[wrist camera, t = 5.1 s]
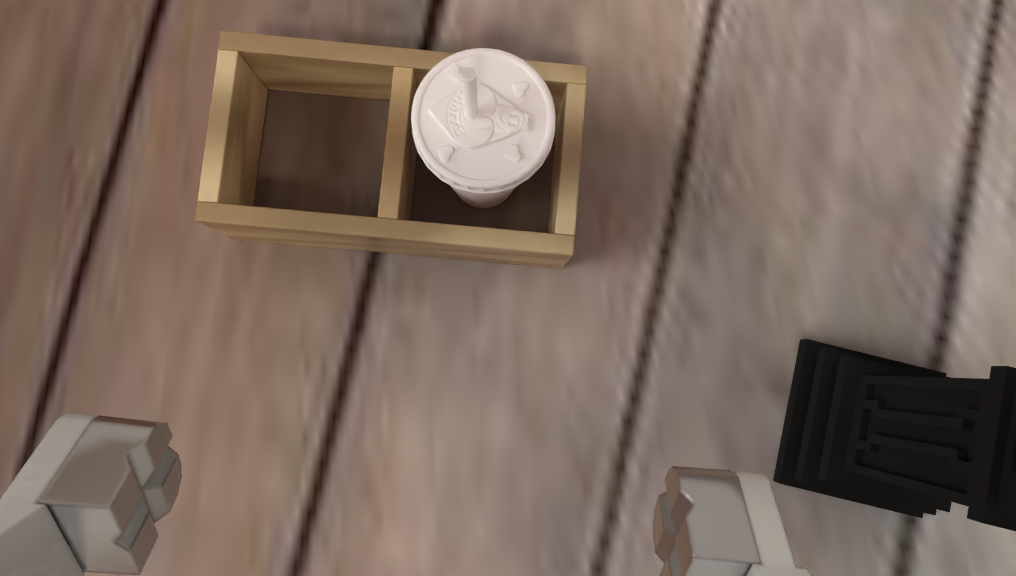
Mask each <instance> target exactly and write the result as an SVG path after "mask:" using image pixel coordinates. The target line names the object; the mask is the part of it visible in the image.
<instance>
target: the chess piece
mask: <svg viewBox="0 0 1016 576" xmlns="http://www.w3.org/2000/svg"><path fill="white" fill-rule="evenodd" d="M946 374H947V373H943V372H939V371H935V370H931V369H926V368H922V367H918V366H914V365H910V364H906V363H902V362H898V361H894V360H890V359H886V358H882V357H877V356H873V355H869V354H865V353H861V352H857V351H853V350H849V349H845V348H841V347H837V346H833V345H829V344H824V343H820V342H816V341H812V340H808V339H803V340H800V344H799V349H798V355H797V360H796V365H795V370H794V375H793V380H792V386H791V391H790V396H789V401H788V406H787V412H786V417H785V422H784V427H783V432H782V437H781V443H780V448H779V453H778V458H777V463H776V469H775V474H774V479H773V481H775V482H777V483H780V484H784V485H788V486H792V487H796V488H801V489H805V490H809V491H813V492H817V493H821V494H825V495H829V496H833V497H838V498H842V499H846V500H850V501H854V502H858V503H862V504H866V505H870V506H875V507H879V508H883V509H887V510H891V511H895V512H899V513H903V514H907V515H912V516H916V517H920V518H922V517H923V512H924V513H928V514H932V515H936V509H938V510H942V511H946V512H950V507H951V501H952V502H955V503H959V504H962V505H966V506H969V509H968V515H967V518H968V519H971V520H975V521H978V522H981V523H984V524H988V525H993V526H997V527H1001V528H1005V529H1009V530H1013V531H1016V368H1013V367H1009V366H991V372H990V378H989V379H972V378H950V377H946Z"/></svg>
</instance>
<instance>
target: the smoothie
mask: <svg viewBox="0 0 1016 576" xmlns="http://www.w3.org/2000/svg"><path fill="white" fill-rule="evenodd" d="M411 124H412V134H413V138H414V141H415V145H416V148H417V151H418V153H419V155H420V156H421V158H422V160H423V161H424V163H425V165H426V166H427V167H428V168H429V169H430V170H431V171H432V172H433V173H434V174H435V175H436V176H437V177H438V178H439V179H440V180H442V181H443V182H445V183H447V184H449V185H450V186H451V187H452V189H453V190H454V191H455V193H456V194H457V195H458V196H459V197H460V199H462V200H463V201H464V202H465V203H467V204H469V205H471V206H474V207H478V208H490V207H494V206H496V205H499V204H500V203H502V202H503V201H505V200H506V199H507V198H508V197H509V195H510V194H511V193H512V191H513V190H514V189H515V188H516V186H518V185H519V184H521V183H523V182H524V181H526V180H528V179H529V178H530V177H531V176H532V175H533V174H534V173H535V172H536V171H537V170H538V169H539V168H540V167H541V166H542V165H543V163H544V161H545V159H546V157H547V156H548V154H549V152H550V150H551V147H552V143H553V139H554V134H555V107H554V103H553V99H552V96H551V93H550V91H549V89H548V87H547V85H546V83H545V82H544V80H543V79H542V77H541V76H540V75H539V73H538V72H537V71H536V70H535V69H534V68H533V67H532V66H530V65H529V64H528V63H527V62H525V61H524V60H522V59H520V58H519V57H517V56H515V55H513V54H510V53H508V52H505V51H501V50H496V49H489V48H476V49H469V50H464V51H461V52H458V53H455V54H453V55H451V56H449V57H447V58H445V59H443V60H442V61H440V62H439V63H438V64H437V65H435V66H434V67H433V68H432V69H431V70H430V71H429V72H428V73H427V75H426V76H425V77H424V78H423V80H422V82H421V83H420V85H419V87H418V89H417V91H416V94H415V96H414V100H413V104H412V111H411Z"/></svg>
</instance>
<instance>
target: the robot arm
mask: <svg viewBox="0 0 1016 576" xmlns="http://www.w3.org/2000/svg"><path fill="white" fill-rule="evenodd" d="M171 438H172V434H171V431H170V429H169V426H168V424H167V423H162V422H153V421H144V420H135V419H126V418H116V417H107V416H99V415H89V414H78V413H66V414H64V415H63V416H62V417H60V418H59V419H57V420H56V421H55V423H54V424H53V425H52V427H51V428H50V430H49V431H48V432H47V434H46V435H45V437H44V438H43V439H42V441H41V442H40V444H39V445H38V447H37V448H36V449H35V451H34V452H33V454H32V455H31V456H30V458H29V459H28V461H27V462H26V463H25V465H24V466H23V468H22V469H21V470H20V472H19V473H18V475H17V476H16V478H15V479H14V480H13V482H12V483H11V485H10V486H9V487H8V489H7V490H6V492H5V493H4V494H3V496H2V497H1V499H0V576H84V572H95V573H114V574H132V575H140V573H141V571H142V569H143V567H144V565H145V563H146V561H147V559H148V557H149V555H150V553H151V550H152V548H153V546H154V544H155V542H156V540H157V538H158V533H157V530H156V526H155V522H156V521H158V520H159V519H160V518H162V517H163V516H164V515H166V514H167V513H168V512H170V511H171V508H172V506H173V504H174V502H175V500H176V497H177V495H178V491H179V487H180V482H181V478H182V471H181V461H180V458H179V455H178V454H177V453H176V452H175V451H174V450H172V449H171V448H170V447H169V446H168V444H169V442H170V440H171ZM665 482H666V489H667V491H666V492H664V493H663V494H661V495H659V497H658V500H657V503H656V506H655V510H654V519H653V539H654V547H655V553H656V554H657V555H658V556H659V557H660V559H661V560H662V561H663V562H664V563H665V564H664V567H663V569H662V571H661V574H660V576H812V575H811V574H810V572H809V571H808V570H807V569H804V568H797V567H796V564H795V561H794V557H793V554H792V551H791V548H790V545H789V541H788V538H787V535H786V532H785V529H784V525H783V522H782V519H781V516H780V512H779V509H778V506H777V503H776V500H775V496H774V493H773V490H772V487H771V484H770V480H769V479H768V478H767V477H766V475H765V474H759V473H746V472H732V471H731V470H718V469H704V468H690V467H677V466H673V467H672V468H670V469H669V471H668V473H667V476H666V478H665Z"/></svg>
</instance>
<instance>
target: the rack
mask: <svg viewBox="0 0 1016 576" xmlns="http://www.w3.org/2000/svg"><path fill="white" fill-rule="evenodd" d="M453 54H455V53H449V52H438V51H428V50H418V49H408V48H397V47H387V46H377V45H366V44H356V43H346V42H336V41H325V40H315V39H305V38H294V37H284V36H274V35H264V34H253V33H243V32H233V31H223V30H222V31H221V35H220V42H219V50H218V57H217V64H216V71H215V79H214V86H213V93H212V100H211V107H210V115H209V122H208V129H207V136H206V144H205V151H204V158H203V165H202V173H201V180H200V187H199V194H198V201H199V202H198V203H197V210H196V217H195V220H196V221H197V222H199V223H201V224H203V225H205V226H207V227H209V228H211V229H213V230H215V231H217V232H219V233H221V234H223V235H225V236H227V237H229V238H231V239H239V240H250V241H261V242H272V243H283V244H294V245H305V246H316V247H327V248H338V249H350V250H361V251H372V252H383V253H394V254H405V255H416V256H427V257H438V258H449V259H461V260H472V261H483V262H494V263H505V264H516V265H527V266H538V267H549V268H560V269H561V268H563V266H564V265H565V264H566V263H567V262H568V260H569V259H570V258H571V257H572V255H573V254H574V242H575V236H574V235H575V229H576V216H577V203H578V190H579V177H580V164H581V151H582V137H583V124H584V111H585V98H586V84H587V72H588V66H582V65H572V64H562V63H551V62H541V61H531V60H524V61H525V62H527V63H528V64H529V65H530V66H532V67H533V68H534V69H535V70H536V71H537V72H538V73H539V75H540V76H541V77H542V79H543V80H544V82H545V83H546V85H547V87H548V89H549V91H550V93H551V96H552V99H553V103H554V107H555V117H557V123H556V136H555V148H554V161H553V173H552V185H551V198H550V210H549V222H548V233H541V232H530V231H519V230H508V229H497V228H486V227H475V226H464V225H453V224H442V223H431V222H420V221H410V216H411V206H412V196H413V187H414V177H415V167H416V158H417V148H416V145H415V141H414V138H413V134H412V124H411V111H412V104H413V100H414V96H415V94H416V91H417V89H418V87H419V85H420V83H421V82H422V80H423V78H424V77H425V76H426V75H427V73H428V72H429V71H430V70H431V69H432V68H433V67H434V66H435V65H437V64H438V63H439V62H440V61H442V60H443V59H445V58H447V57H449V56H451V55H453ZM268 89H272V90H282V91H293V92H303V93H314V94H324V95H335V96H345V97H356V98H366V99H377V100H387V101H390V106H389V115H388V124H387V134H386V143H385V152H384V161H383V170H382V180H381V189H380V198H379V207H378V218H377V217H366V216H355V215H344V214H333V213H322V212H311V211H300V210H289V209H278V208H267V207H256V206H253V203H254V195H255V188H256V180H257V172H258V164H259V157H260V149H261V141H262V133H263V126H264V118H265V110H266V102H267V95H268Z"/></svg>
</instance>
